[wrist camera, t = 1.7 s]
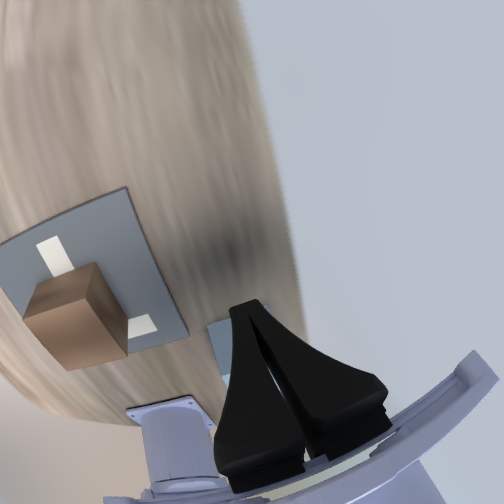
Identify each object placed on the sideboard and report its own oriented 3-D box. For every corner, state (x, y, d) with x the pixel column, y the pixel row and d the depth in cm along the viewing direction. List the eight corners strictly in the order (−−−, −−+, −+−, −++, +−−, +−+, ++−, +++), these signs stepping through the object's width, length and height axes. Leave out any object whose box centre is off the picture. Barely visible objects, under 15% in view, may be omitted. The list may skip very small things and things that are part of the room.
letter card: (188, 331, 20) (189, 336, 20) (67, 364, 19) (66, 368, 18) (126, 186, 14) (125, 189, 13) (-15, 253, 12) (-18, 256, 11)
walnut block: (128, 318, 18) (127, 356, 15) (73, 334, 17) (67, 371, 14) (95, 261, 15) (85, 298, 12) (37, 283, 14) (21, 319, 11)
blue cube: (273, 341, 24) (295, 383, 20) (222, 359, 24) (237, 405, 20) (266, 304, 22) (292, 350, 18) (206, 324, 21) (221, 376, 17)
